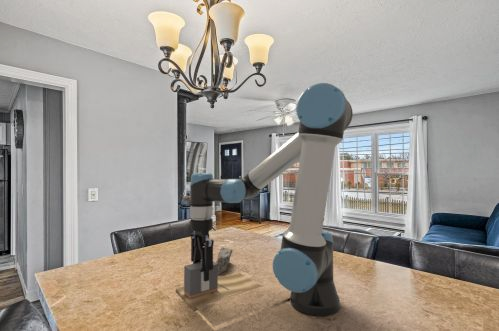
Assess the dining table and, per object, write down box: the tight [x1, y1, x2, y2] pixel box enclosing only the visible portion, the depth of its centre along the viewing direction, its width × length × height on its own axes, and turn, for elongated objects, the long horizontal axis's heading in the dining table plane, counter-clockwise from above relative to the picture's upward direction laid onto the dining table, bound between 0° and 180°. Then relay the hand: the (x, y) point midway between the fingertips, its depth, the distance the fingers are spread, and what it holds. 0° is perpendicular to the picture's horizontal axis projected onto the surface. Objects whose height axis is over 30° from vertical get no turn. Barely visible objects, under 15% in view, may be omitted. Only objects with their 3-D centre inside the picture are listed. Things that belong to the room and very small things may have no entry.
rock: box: [215, 247, 233, 275], centre depth 111 cm, size 16×8×10 cm, turn 165°
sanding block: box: [183, 261, 219, 299], centre depth 89 cm, size 10×5×9 cm, turn 126°
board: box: [175, 271, 263, 311], centre depth 93 cm, size 16×26×1 cm, turn 125°
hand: (201, 286), depth 89 cm, fingers closed on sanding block, 5 cm apart
